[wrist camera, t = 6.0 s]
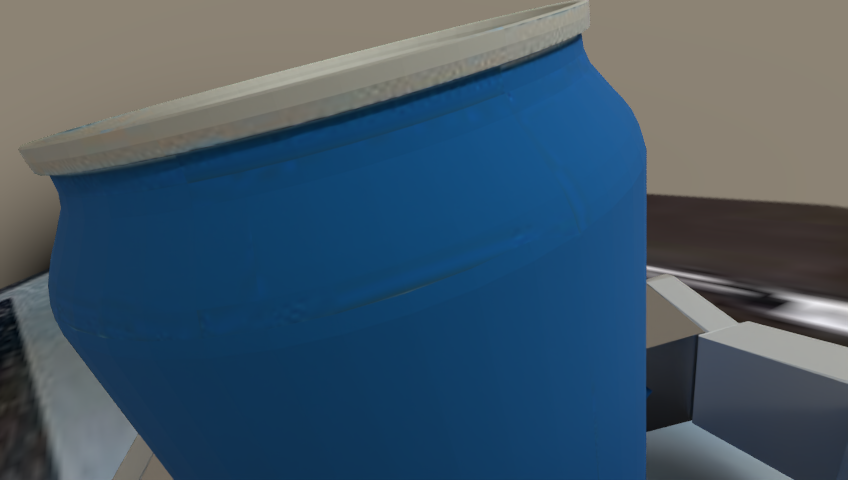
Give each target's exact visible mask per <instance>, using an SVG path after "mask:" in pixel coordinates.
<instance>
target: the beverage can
mask: <svg viewBox="0 0 848 480" xmlns="http://www.w3.org/2000/svg"><path fill="white" fill-rule="evenodd" d="M589 26H590V14H589V0H573V1H568V2H562V3H558V4H553V5H548V6H543V7H539V8H534V9H530V10H526V11H521V12H517V13H512V14H508V15H504V16H500V17H496V18H491V19H487V20H483V21H479V22H475V23H470V24H466V25H462V26H458V27H454V28H450V29H446V30H442V31H437V32H434V33H429V34H426V35H422V36H417V37H413V38H409V39H405V40H401V41H398V42H393V43H389V44H385V45H381V46H377V47H373V48H370V49H366V50H362V51H358V52H354V53H350V54H346V55H342V56H339V57H334V58H330V59H327V60H323V61H319V62H315V63H311V64H307V65H304V66H300V67H296V68H292V69H288V70H284V71H280V72H277V73H273V74H269V75H266V76H261V77H258V78H254V79H251V80H247V81H243V82H239V83H235V84H231V85H228V86H224V87H220V88H216V89H213V90H209V91H205V92H202V93H198V94H194V95H191V96H187V97H183V98H180V99H176V100H172V101H169V102H165V103H162V104H158V105H154V106H150V107H147V108H143V109H140V110H136V111H133V112H129V113H126V114H122V115H118V116H115V117H111V118H108V119H105V120H101V121H98V122H94V123H90V124H87V125H83V126H81V127H77V128H74V129H70V130H67V131H64V132H60V133H57V134H54V135H50V136H47V137H44V138H41V139H38V140H35V141H32V142H29V143H27V144H24V145H22V146H20V148H19V151H20V153H21V155H22V157H23V158H24V160H25V162H26V163H27V164H28V165H29V167H30V168H31V170H32V171H33V172H34V173H35V174H38V175H50V177H51V179H52V181H53V183H54V185H55V187H56V189H57V191H58V193H59V199H60V204H61V211H60V216H59V221H58V227H57V232H56V237H55V242H54V246H53V250H52V255H51V261H50V269H49V281H48V288H49V297H50V305H51V308H52V311H53V314H54V317H55V320H56V322H57V323H58V325H59V327H60V329H61V331H62V333H63V335H64V336H65V337H66V338H67V340H68V341H69V342H70V344H71V345H72V346H73V348H74V349H75V350H76V352H77V353H78V354H79V356H80V357H81V358H82V360H83V361H84V362H85V364H86V365H87V366H88V367H89V369H90V370H91V371H92V373H93V374H94V375H95V377H96V378H97V379H98V381H99V382H100V383H101V385H102V386H103V387H104V389H105V390H106V391H107V393H108V394H109V395H110V396H111V398H112V399H113V400H114V402H115V403H116V404H117V406H118V407H119V408H120V410H121V411H122V412H123V414H124V415H125V416H126V418H127V419H128V420H129V422H130V423H131V424H132V425H133V427H134V428H135V429H136V431H137V432H138V433H139V435H140V436H141V437H142V439H143V440H144V441H145V443H146V444H147V445H148V447H149V448H150V449H151V451H152V452H153V453H154V454H155V456H156V457H157V458H158V460H159V461H160V462H161V464H162V465H163V466H164V468H165V469H166V470H167V472H168V473H169V474H170V476H171V477H172V478H173V479H174V480H646V146H645V143H644V139H643V136H642V133H641V130H640V126H639V124H638V122H637V120H636V118H635V116H634V114H633V112H632V110H631V108H630V107H629V106H628V104H627V103H626V102H625V101H624V99H623V98H622V97H621V96H620V95H619V94H618V93H617V92H616V91H615V90H614V89H613V88H612V87H611V86H610V85H609V83H608V82H607V81H606V80H605V79H604V78H603V77H602V75H601V74H600V73H599V72H598V71H597V70H596V69H595V68H594V66H593V65H592V64H591V63H590V61H589V59H588V57H587V55H586V52H585V50H584V48H583V41H582V35H581V33H582V32H583V31H584V30H586V29H587V28H589Z"/></svg>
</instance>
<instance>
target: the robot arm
mask: <svg viewBox="0 0 848 480" xmlns="http://www.w3.org/2000/svg"><path fill="white" fill-rule="evenodd" d="M691 420H692V423H693V424H695V425H697V426H699V427H701V428H702V429H704V430H706V431H708V432H710V433H711V434H713V435H715V436H717V437H719V438H720V439H722V440H724V441H726V442H728V443H729V444H731V445H733V446H735V447H736V448H738V449H740V450H742V451H744V452H745V453H747V454H749V455H751V456H753V457H754V458H756V459H758V460H760V461H762V462H763V463H765V464H767V465H769V466H770V467H772V468H774V469H776V470H778V471H779V472H781V473H783V474H785V475H787V476H788V477H790V478H792V479H794V480H848V347H844V346H840V345H837V344H833V343H829V342H825V341H821V340H818V339H814V338H810V337H806V336H802V335H799V334H795V333H791V332H787V331H783V330H780V329H776V328H772V327H768V326H764V325H760V324H757V323H753V322H749V321H747V322H744V323H740V324H739V323H738V322H736V321H735V320H733V319H732V318H731V317H729V316H728V315H727V314H725V313H724V312H722V311H721V310H720V309H718V308H717V307H715V306H714V305H713V304H711V303H710V302H709V301H707V300H706V299H704V298H703V297H702V296H700V295H699V294H698V293H696V292H695V291H693V290H692V289H691V288H689V287H688V286H687V285H685V284H684V283H682V282H681V281H680V280H678V279H677V278H675V277H674V276H672V275H668V274H663V275H660V276H657V277H653V278H650V279H647V280H646V432H648V431H652V430H656V429H660V428H664V427H667V426H671V425H675V424H679V423H683V422H687V421H691ZM112 480H174V479H173V478H172V477H171V476H170V474H169V473H168V472H167V470H166V469H165V468H164V466H163V465H162V464H161V462H160V461H159V460H158V458H157V457H156V456H155V454H154V453H153V452H152V451H151V449H150V448H149V447H148V445H147V444H146V443H145V441H144V440H143V439H142V437H141V436H140V435H139V433H138V435H137V437H136V439H135V440H134V442H133V444H132V446H131V447H130V449H129V451H128V453H127V454H126V456H125V458H124V460H123V462H122V463H121V465H120V467H119V469H118V470H117V472H116V474H115V476H114V477H113V479H112Z"/></svg>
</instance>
